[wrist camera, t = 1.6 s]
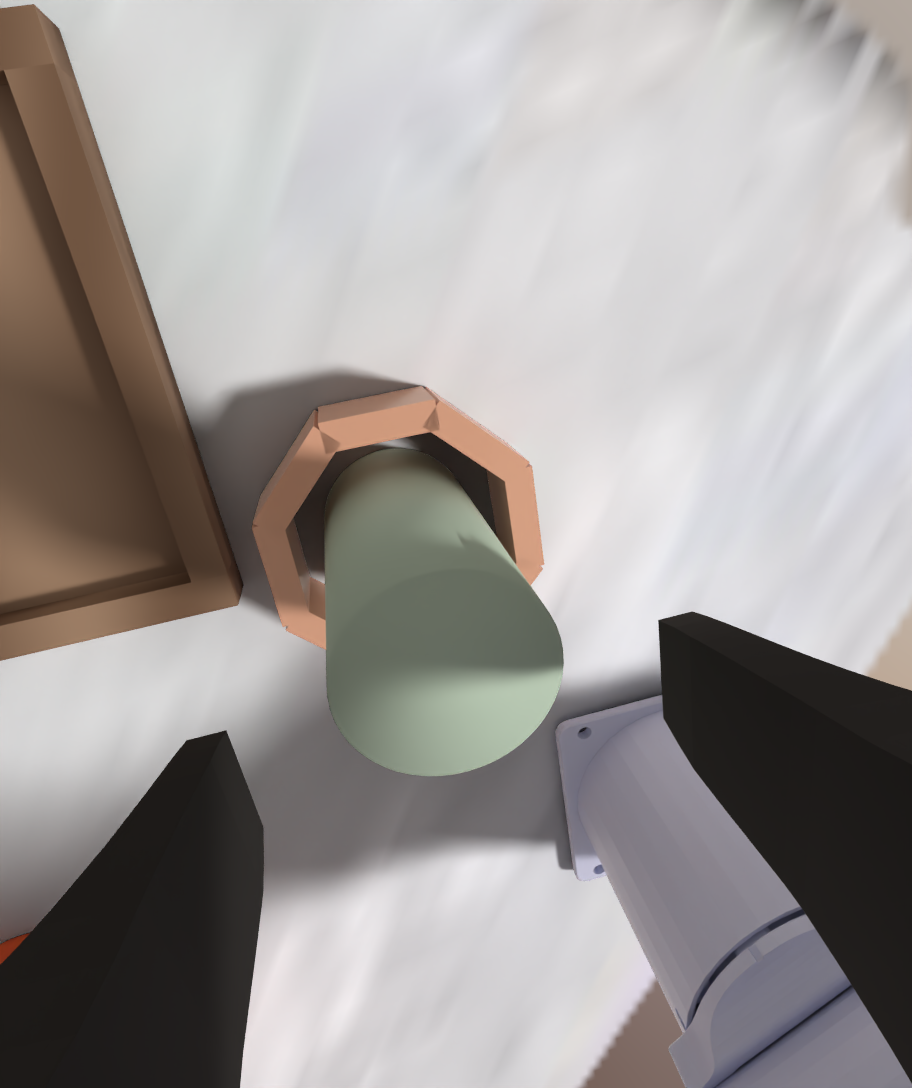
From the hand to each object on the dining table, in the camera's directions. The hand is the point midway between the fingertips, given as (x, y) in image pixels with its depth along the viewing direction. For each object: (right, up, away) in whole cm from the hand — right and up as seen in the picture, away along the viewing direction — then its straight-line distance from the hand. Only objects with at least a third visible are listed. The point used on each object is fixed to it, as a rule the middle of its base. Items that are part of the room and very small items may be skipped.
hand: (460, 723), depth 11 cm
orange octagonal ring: (-2, +4, +9) cm, 10 cm away
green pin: (-2, +4, +10) cm, 10 cm away
